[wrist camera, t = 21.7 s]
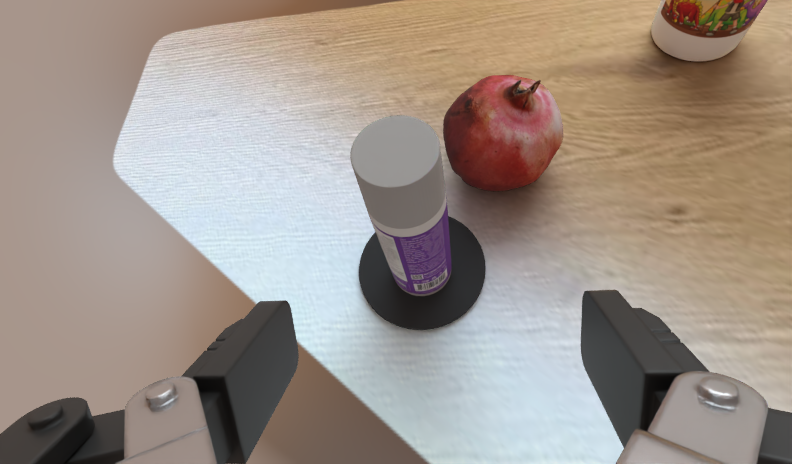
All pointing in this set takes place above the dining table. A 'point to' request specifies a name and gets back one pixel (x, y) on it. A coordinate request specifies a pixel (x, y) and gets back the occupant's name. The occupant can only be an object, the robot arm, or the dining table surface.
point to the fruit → (502, 132)
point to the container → (406, 200)
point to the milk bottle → (702, 26)
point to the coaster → (431, 307)
